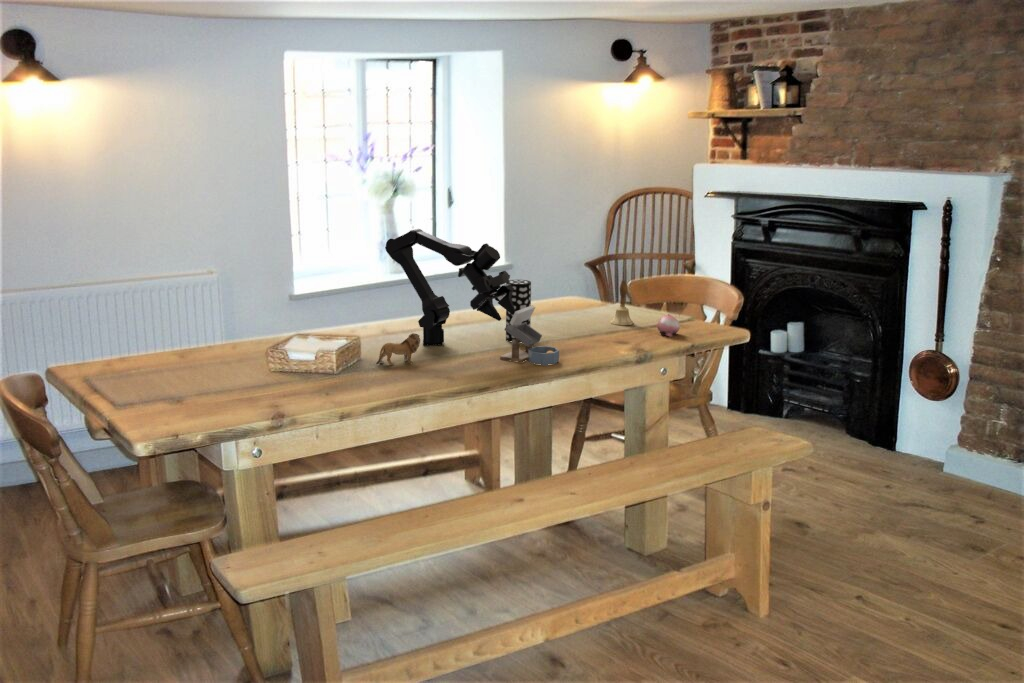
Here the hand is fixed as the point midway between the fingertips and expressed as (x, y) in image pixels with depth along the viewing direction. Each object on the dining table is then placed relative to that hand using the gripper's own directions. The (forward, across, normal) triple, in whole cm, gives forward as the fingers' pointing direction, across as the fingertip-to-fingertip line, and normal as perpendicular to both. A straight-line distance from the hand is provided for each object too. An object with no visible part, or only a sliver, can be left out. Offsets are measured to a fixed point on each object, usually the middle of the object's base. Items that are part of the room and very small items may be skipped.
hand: (507, 317), depth 345 cm
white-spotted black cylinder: (+4, +20, +14) cm, 25 cm away
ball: (+18, 0, -4) cm, 19 cm away
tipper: (+8, 0, 0) cm, 8 cm away
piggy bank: (+32, +54, -15) cm, 65 cm away
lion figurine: (-8, -25, +26) cm, 37 cm away
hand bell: (+18, +62, 0) cm, 64 cm away
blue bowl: (+18, 0, -1) cm, 18 cm away
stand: (+12, 0, +6) cm, 13 cm away
